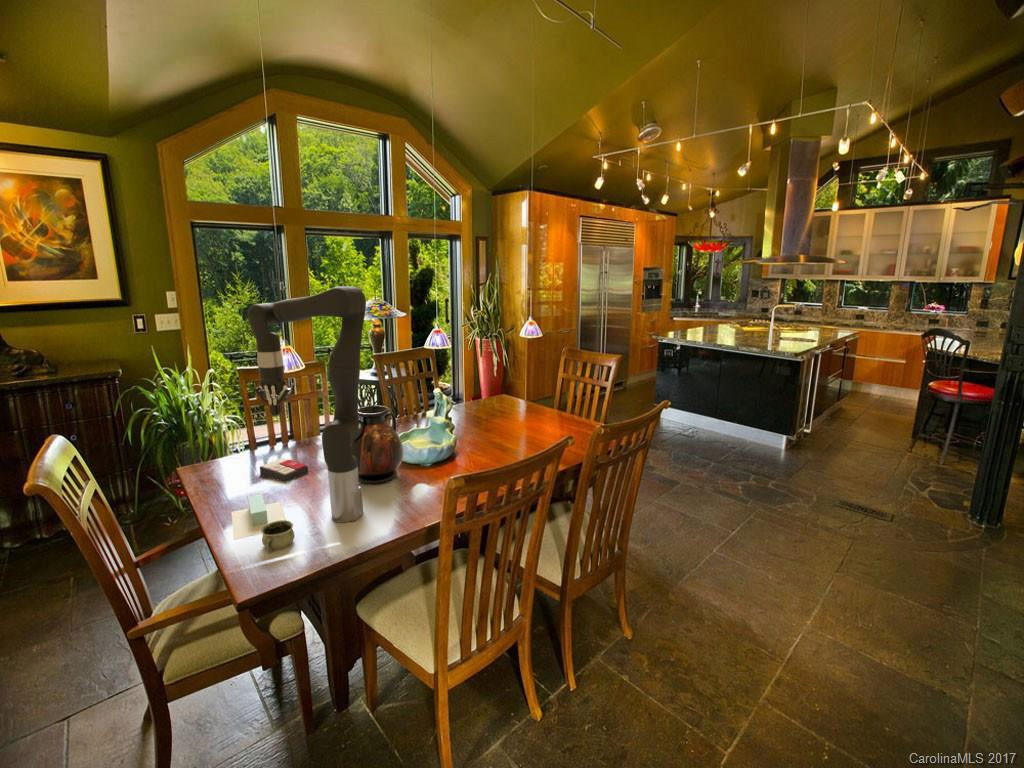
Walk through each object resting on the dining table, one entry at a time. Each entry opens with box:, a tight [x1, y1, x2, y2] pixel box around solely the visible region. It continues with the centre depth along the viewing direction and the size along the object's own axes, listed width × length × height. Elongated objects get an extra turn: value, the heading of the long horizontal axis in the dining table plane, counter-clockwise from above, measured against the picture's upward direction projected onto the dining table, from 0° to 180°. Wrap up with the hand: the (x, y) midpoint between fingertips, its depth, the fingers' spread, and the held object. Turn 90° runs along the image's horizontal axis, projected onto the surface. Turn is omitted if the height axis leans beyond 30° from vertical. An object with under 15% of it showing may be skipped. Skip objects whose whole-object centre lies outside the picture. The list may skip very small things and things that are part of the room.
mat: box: [230, 501, 287, 541], centre depth 161 cm, size 20×15×1 cm
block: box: [247, 493, 268, 526], centre depth 163 cm, size 4×4×14 cm
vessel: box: [260, 519, 296, 554], centre depth 146 cm, size 12×9×6 cm
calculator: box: [259, 457, 309, 483], centre depth 198 cm, size 11×4×15 cm
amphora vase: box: [351, 405, 405, 486], centre depth 192 cm, size 22×22×28 cm
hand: (276, 414), depth 167 cm, fingers closed
